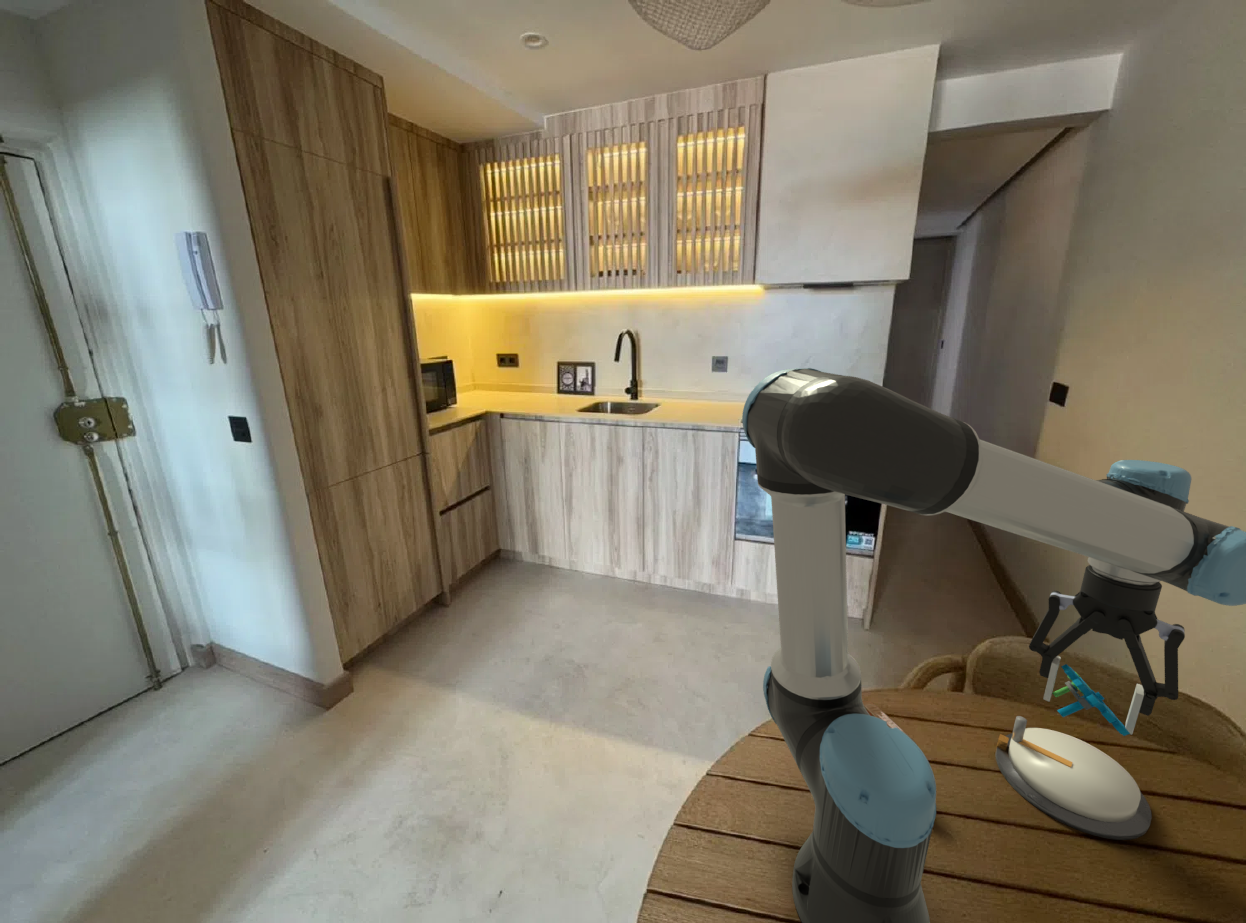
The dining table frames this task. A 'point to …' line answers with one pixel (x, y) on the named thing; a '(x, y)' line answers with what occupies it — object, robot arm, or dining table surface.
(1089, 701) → the gear
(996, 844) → the dining table surface
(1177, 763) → the dining table surface
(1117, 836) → the dial base
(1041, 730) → the dial
